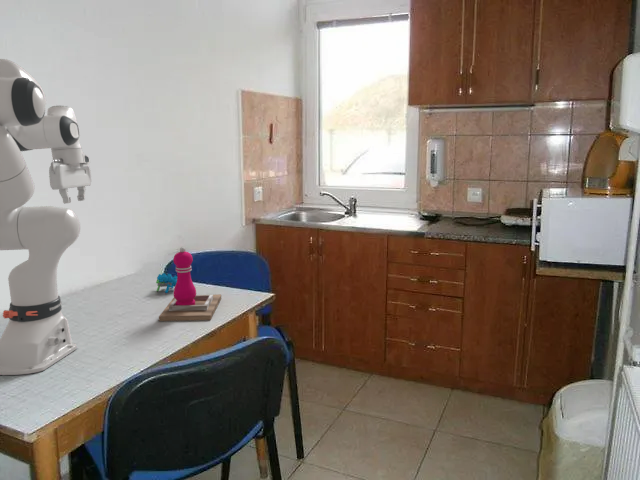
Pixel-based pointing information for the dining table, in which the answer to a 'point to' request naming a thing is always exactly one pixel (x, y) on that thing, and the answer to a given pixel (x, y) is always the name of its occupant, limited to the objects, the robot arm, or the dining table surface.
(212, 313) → the walnut board
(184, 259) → the pepper mill
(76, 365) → the dining table surface
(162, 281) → the toy dinosaur
